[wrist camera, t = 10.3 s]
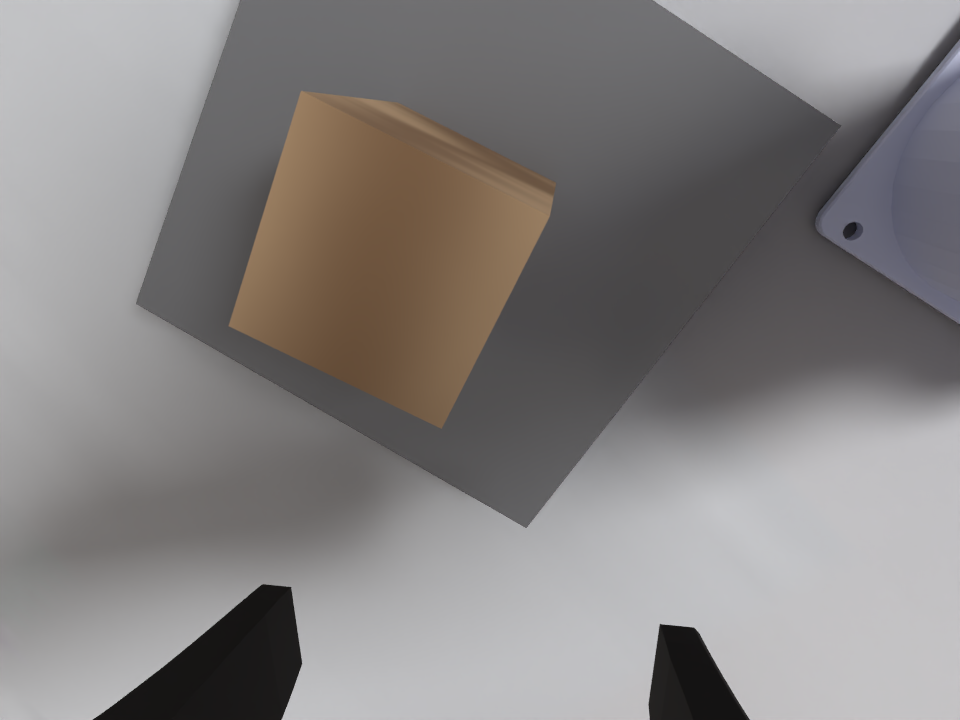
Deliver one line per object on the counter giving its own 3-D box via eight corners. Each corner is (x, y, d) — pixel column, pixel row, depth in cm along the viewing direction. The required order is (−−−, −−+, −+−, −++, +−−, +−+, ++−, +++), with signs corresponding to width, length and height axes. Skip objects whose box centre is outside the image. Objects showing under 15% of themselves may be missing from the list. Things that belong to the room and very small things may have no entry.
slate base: (796, 125, 17) (841, 125, 14) (531, 477, 22) (526, 527, 19) (361, -163, 16) (317, -224, 13) (192, 279, 21) (135, 303, 18)
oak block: (556, 182, 15) (549, 216, 10) (482, 330, 17) (441, 428, 12) (397, 102, 15) (300, 91, 10) (338, 259, 17) (228, 325, 11)
